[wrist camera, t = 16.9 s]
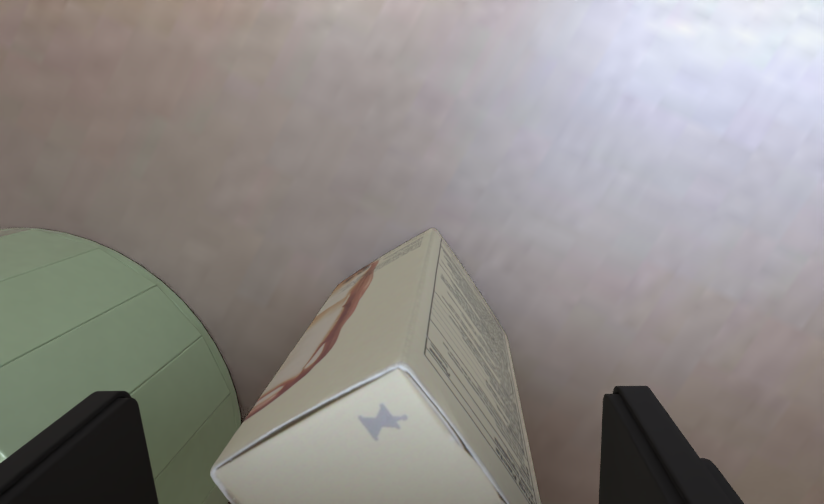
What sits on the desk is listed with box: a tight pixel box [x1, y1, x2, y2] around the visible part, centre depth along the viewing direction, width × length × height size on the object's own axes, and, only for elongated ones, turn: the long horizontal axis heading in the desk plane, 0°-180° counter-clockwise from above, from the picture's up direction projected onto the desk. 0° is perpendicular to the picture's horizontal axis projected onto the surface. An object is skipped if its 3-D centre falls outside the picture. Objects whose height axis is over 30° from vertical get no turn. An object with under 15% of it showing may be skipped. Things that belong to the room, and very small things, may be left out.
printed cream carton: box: [210, 228, 541, 504], centre depth 14 cm, size 5×4×10 cm
